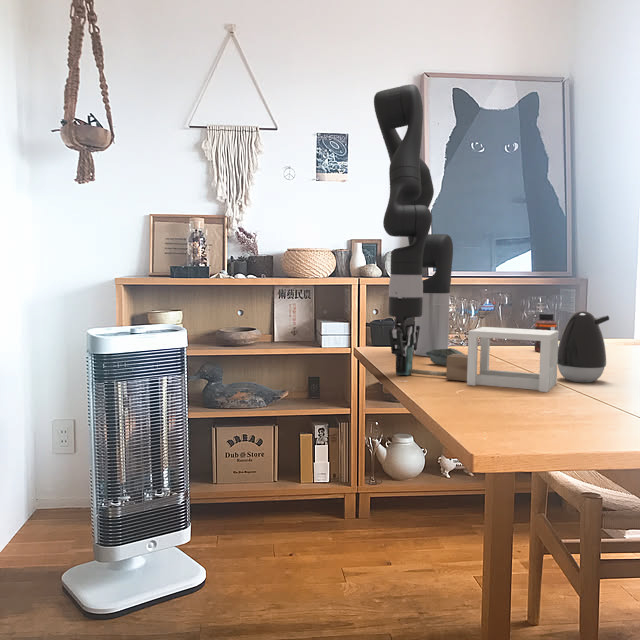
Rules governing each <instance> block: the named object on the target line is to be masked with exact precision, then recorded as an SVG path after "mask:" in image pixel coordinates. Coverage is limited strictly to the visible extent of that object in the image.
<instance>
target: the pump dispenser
mask: <svg viewBox="0 0 640 640" xmlns="http://www.w3.org/2000/svg"><path fill="white" fill-rule="evenodd" d="M608 321H610V316H609V315H605V316H604V315H603V316H601V317H600V316H599V317H595V316H594V315H593V314H592V313H591V312H588V311H586V310H581V311H577V312H575V313H573V314H572V315H571V316H570V318H569V319H568V321H567V323H566V324H565V326H564V329H563V331H562V333H561V336H560V340H559V341H558V362H557V370H558V371H559V374H560V375H561V376H562V377H563V378H564V379H565V380H567V381H570V382H575V383H593V382H595V381H597V380H598V379H600V378H601V376H602V375H603V373H604V371H605V367H606V366H607V353H606V345H605V340H604V336H603V333H602V330H601V328H600V324H602V323H606V322H608Z"/></svg>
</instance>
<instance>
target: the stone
mask: <svg viewBox="0 0 640 640" xmlns="http://www.w3.org/2000/svg"><path fill="white" fill-rule="evenodd" d="M426 354H427V355H428V356H427V357H429V358H430V361H431V362H432V363H433V364H435V365H441V366H447V356H449V355H452V354H463V355H466V354H465V353H463V352H462V351H460V350H458V349H455V348H452V347H448V349H438V350H437V349H436V350H431V351H428V352H426Z"/></svg>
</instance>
